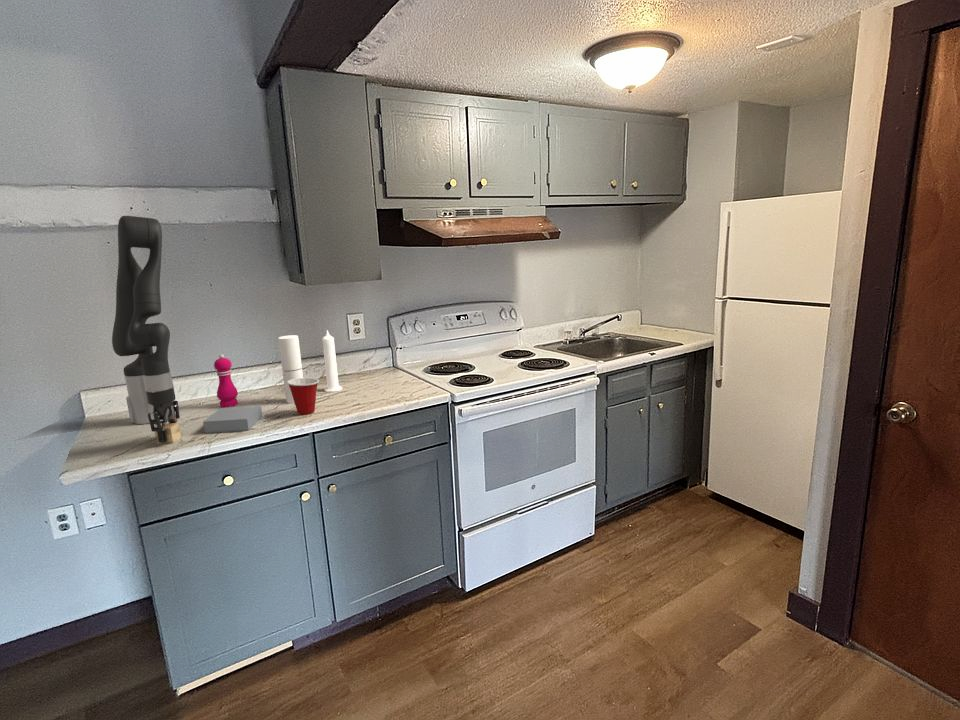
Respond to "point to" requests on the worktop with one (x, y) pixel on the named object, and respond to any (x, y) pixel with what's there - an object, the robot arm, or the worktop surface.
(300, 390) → the plastic cup
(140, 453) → the worktop surface
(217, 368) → the pepper mill
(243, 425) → the slate plinth
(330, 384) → the candle
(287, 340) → the cylindrical container
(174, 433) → the oak cube
